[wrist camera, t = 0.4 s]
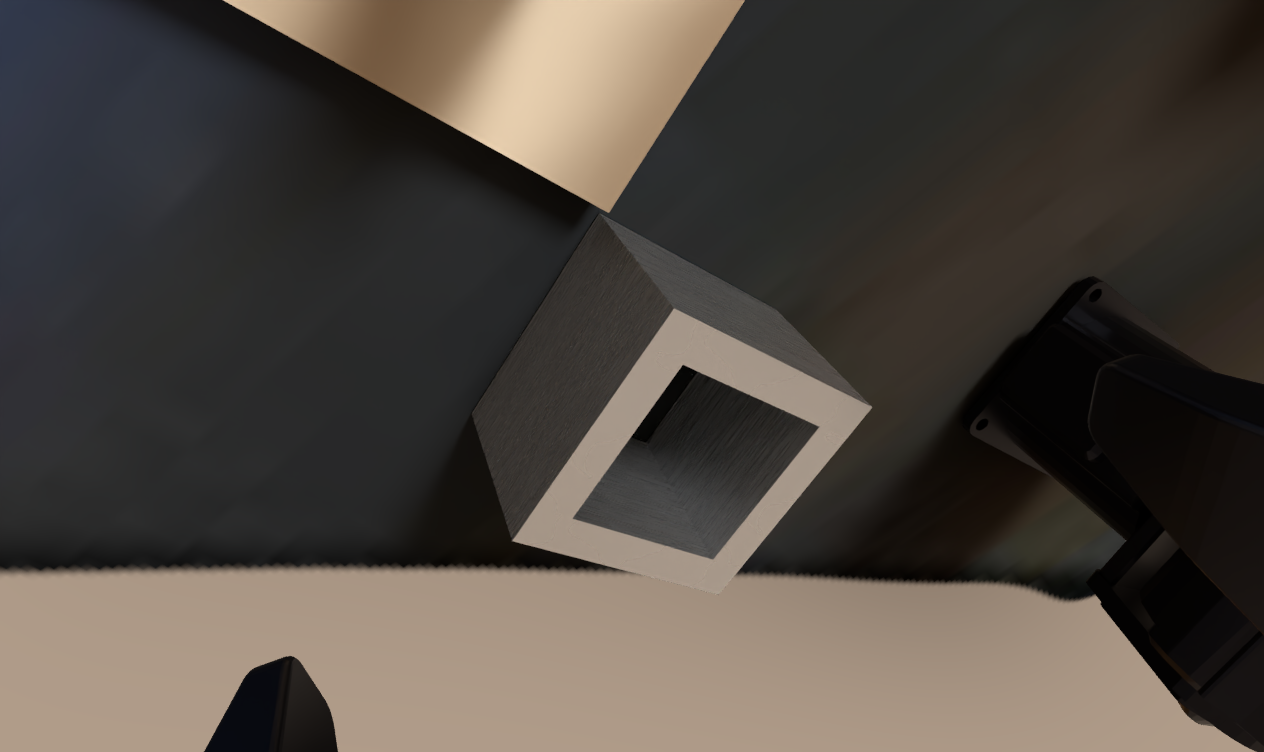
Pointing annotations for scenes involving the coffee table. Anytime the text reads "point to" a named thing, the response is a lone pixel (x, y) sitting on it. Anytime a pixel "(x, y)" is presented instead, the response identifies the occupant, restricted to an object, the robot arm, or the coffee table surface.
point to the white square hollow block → (686, 437)
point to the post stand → (525, 70)
